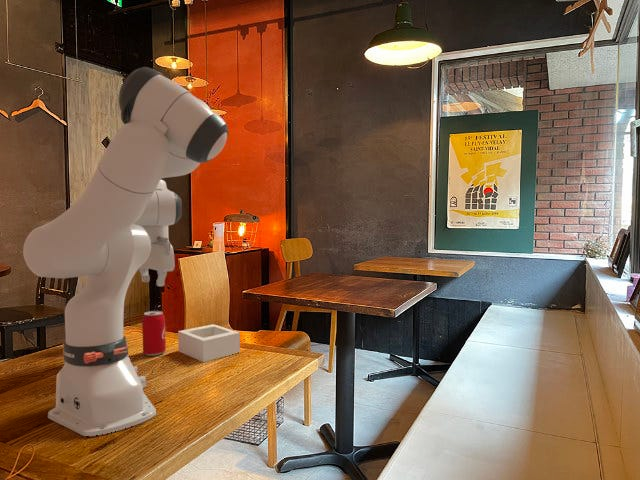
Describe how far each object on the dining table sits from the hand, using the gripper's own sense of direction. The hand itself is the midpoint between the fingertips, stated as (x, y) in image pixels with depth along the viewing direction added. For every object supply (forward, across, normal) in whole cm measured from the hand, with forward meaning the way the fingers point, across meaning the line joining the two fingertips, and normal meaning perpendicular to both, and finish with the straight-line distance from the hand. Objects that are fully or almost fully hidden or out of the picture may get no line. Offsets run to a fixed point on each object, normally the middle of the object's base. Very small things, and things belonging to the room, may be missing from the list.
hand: (152, 283), depth 135 cm
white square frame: (+20, -10, -12) cm, 26 cm away
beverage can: (+21, 0, 0) cm, 21 cm away
